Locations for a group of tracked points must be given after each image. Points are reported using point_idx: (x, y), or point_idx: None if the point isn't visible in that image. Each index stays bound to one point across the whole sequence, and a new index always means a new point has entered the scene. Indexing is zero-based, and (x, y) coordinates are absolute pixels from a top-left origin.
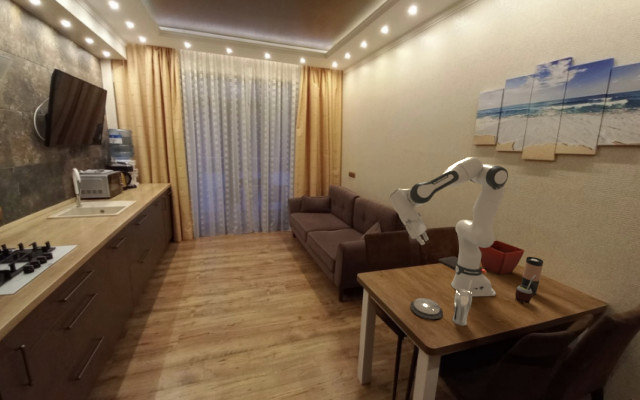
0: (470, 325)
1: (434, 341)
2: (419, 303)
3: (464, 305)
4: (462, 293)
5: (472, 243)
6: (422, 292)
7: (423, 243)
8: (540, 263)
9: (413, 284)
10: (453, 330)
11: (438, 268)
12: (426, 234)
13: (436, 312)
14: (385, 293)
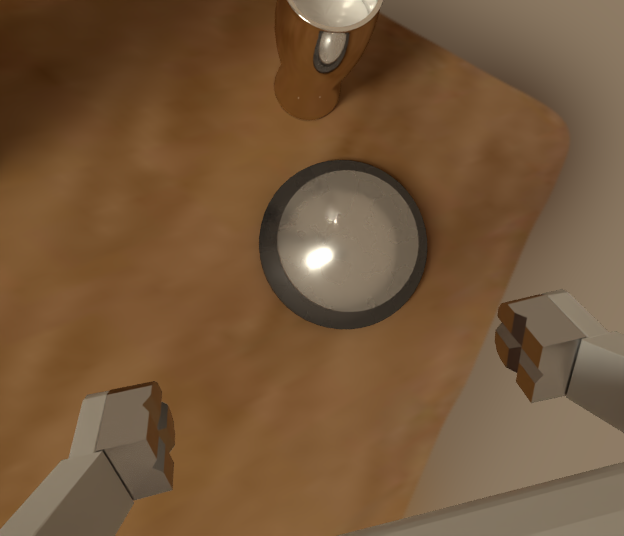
0: None
1: (533, 126)
2: (368, 276)
3: (366, 3)
4: (283, 19)
5: None
6: (167, 344)
7: (568, 304)
8: None
9: None
10: (398, 90)
11: None
12: (38, 503)
13: (372, 176)
14: (363, 496)
